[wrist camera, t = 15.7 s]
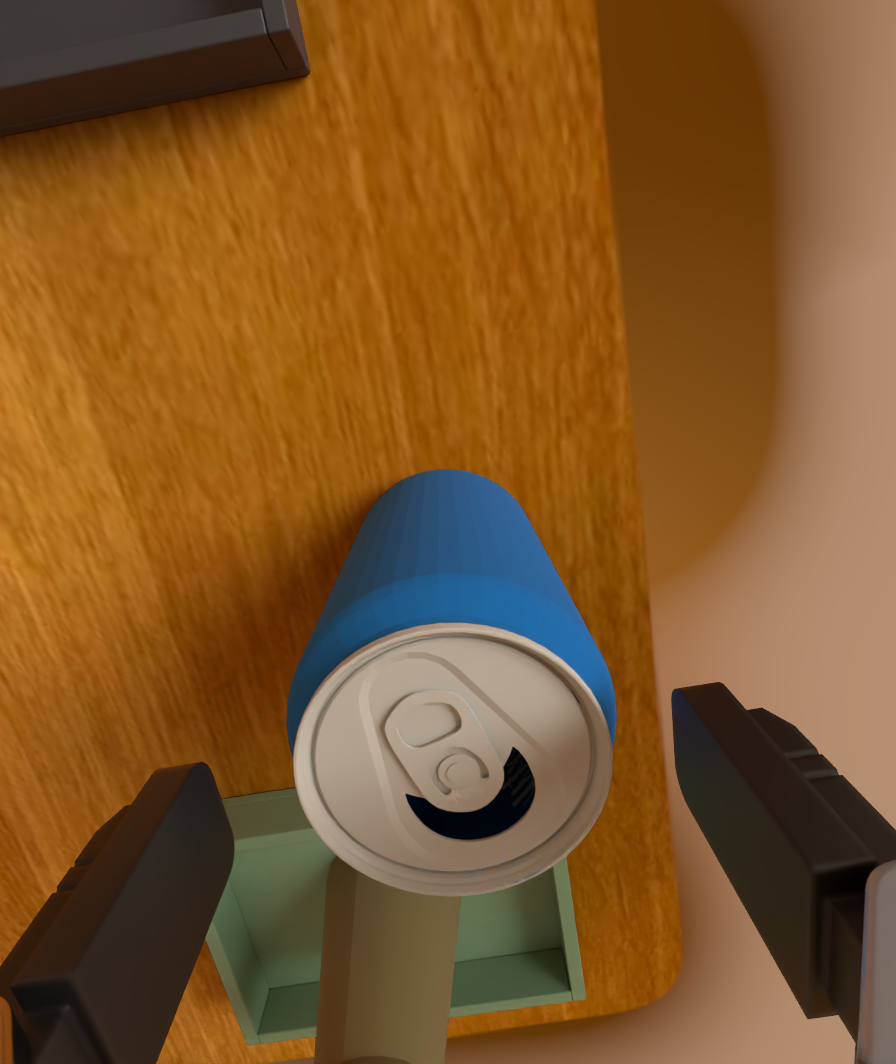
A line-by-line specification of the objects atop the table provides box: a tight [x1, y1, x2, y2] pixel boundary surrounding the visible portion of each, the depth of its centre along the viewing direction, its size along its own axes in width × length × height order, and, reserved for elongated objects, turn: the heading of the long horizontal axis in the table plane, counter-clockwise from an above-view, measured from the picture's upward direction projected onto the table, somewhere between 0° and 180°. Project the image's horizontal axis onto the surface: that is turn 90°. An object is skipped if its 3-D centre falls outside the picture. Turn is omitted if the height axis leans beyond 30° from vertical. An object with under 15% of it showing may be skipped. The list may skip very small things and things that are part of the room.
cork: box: [314, 856, 462, 1064], centre depth 20 cm, size 6×6×11 cm
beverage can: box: [287, 469, 617, 896], centre depth 16 cm, size 6×6×12 cm
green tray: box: [205, 788, 586, 1045], centre depth 25 cm, size 15×11×2 cm
